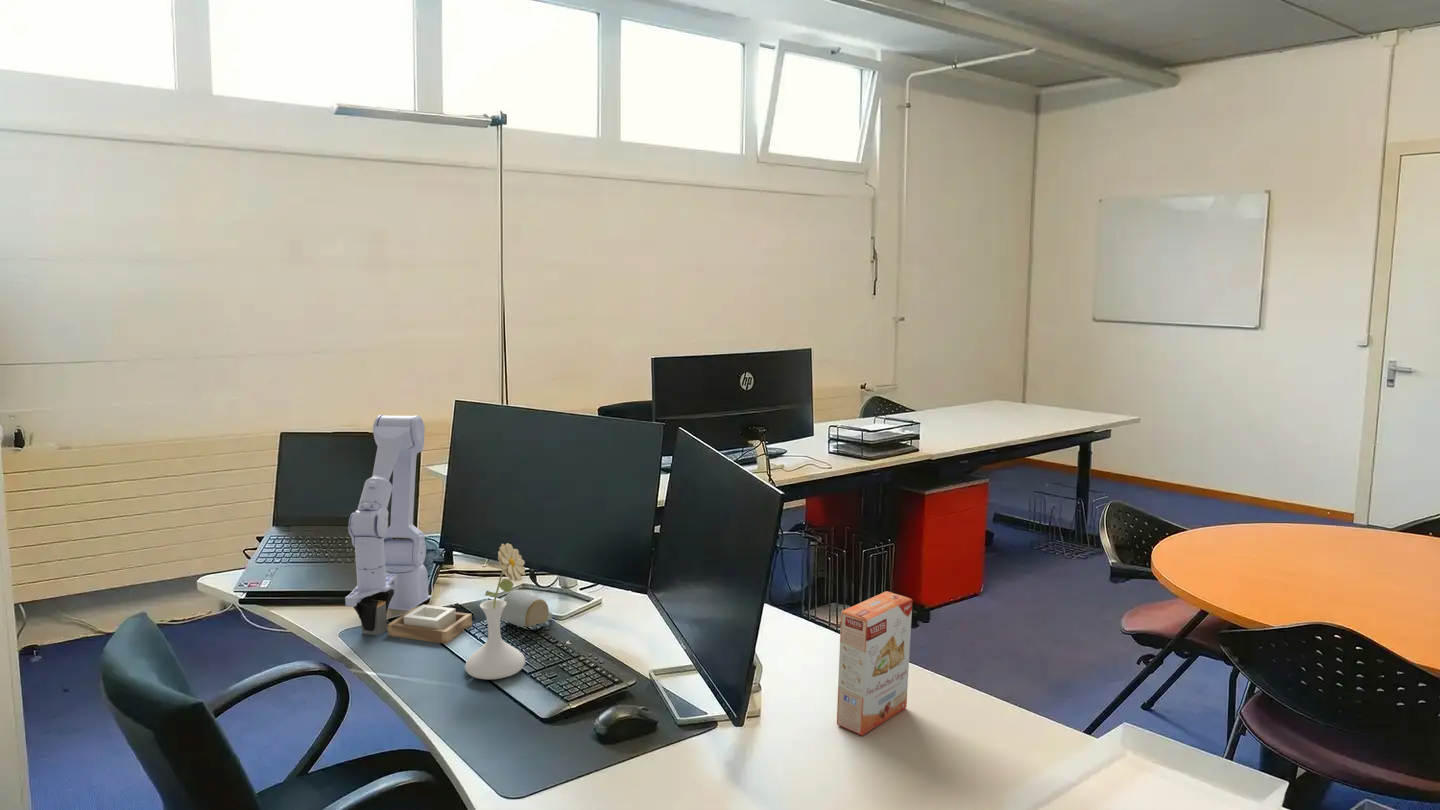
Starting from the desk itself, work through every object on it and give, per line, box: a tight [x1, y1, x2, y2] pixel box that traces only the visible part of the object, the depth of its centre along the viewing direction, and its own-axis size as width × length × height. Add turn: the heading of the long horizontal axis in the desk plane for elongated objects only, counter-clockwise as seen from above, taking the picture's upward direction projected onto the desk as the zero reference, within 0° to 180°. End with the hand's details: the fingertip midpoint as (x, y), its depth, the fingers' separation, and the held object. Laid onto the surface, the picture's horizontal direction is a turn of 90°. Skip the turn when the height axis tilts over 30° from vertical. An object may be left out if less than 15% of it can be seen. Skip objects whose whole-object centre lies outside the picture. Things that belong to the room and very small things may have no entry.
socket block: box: [404, 604, 457, 630], centre depth 191 cm, size 7×8×4 cm
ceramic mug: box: [501, 589, 553, 627], centre depth 196 cm, size 11×8×8 cm
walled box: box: [387, 606, 473, 645], centre depth 191 cm, size 10×14×3 cm
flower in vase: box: [464, 542, 526, 680], centre depth 172 cm, size 13×11×25 cm
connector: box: [360, 600, 388, 637], centre depth 190 cm, size 3×4×7 cm
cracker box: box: [836, 590, 914, 736], centre depth 155 cm, size 14×6×21 cm, turn 136°
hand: (374, 626), depth 190 cm, fingers closed on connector, 3 cm apart
